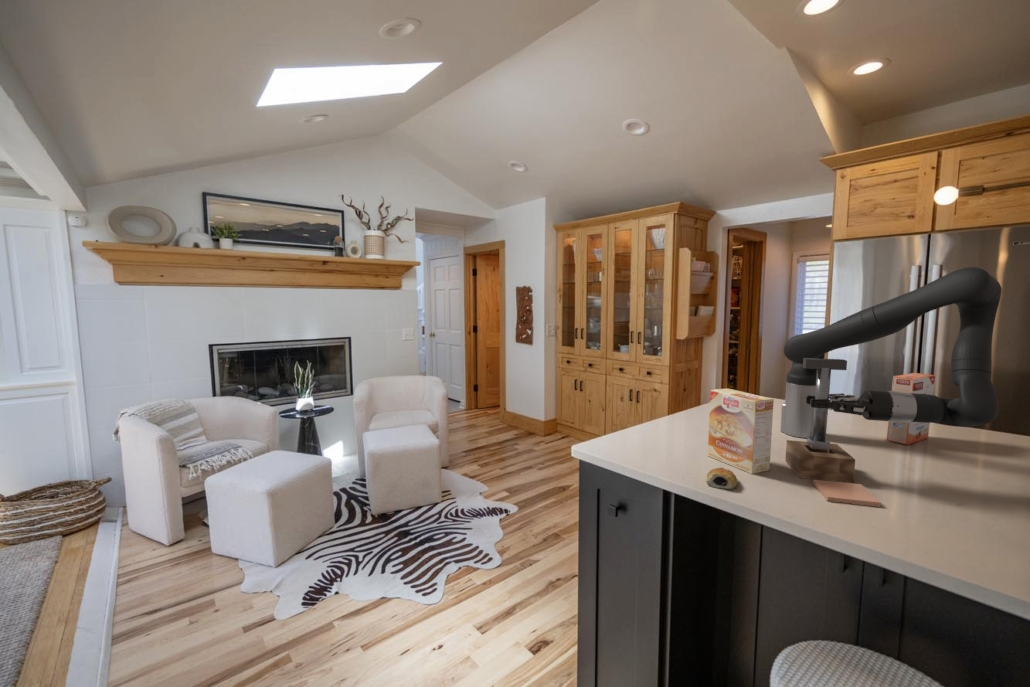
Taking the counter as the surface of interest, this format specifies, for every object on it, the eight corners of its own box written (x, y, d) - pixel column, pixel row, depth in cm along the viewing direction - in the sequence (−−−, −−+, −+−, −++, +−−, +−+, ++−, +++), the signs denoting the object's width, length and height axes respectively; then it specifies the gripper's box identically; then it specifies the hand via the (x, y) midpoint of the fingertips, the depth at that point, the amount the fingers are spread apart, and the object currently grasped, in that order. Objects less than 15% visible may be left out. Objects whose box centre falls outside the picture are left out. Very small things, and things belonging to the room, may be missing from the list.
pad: (827, 501, 103) (827, 496, 103) (813, 483, 112) (813, 479, 112) (880, 507, 100) (880, 502, 100) (860, 488, 109) (861, 484, 109)
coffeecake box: (706, 456, 132) (709, 389, 129) (724, 452, 134) (727, 387, 132) (751, 474, 118) (755, 400, 116) (770, 470, 121) (775, 398, 119)
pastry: (710, 473, 119) (710, 459, 119) (738, 479, 116) (739, 464, 115) (705, 487, 111) (706, 471, 111) (735, 493, 108) (736, 477, 107)
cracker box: (908, 446, 139) (915, 378, 137) (885, 440, 144) (891, 375, 142) (930, 439, 146) (936, 374, 143) (906, 434, 151) (912, 371, 149)
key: (800, 447, 119) (807, 359, 116) (796, 442, 123) (802, 357, 120) (841, 451, 116) (848, 361, 113) (835, 446, 120) (842, 358, 117)
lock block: (798, 477, 116) (799, 454, 115) (785, 460, 127) (786, 440, 127) (853, 483, 112) (855, 459, 112) (835, 465, 124) (836, 444, 123)
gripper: (876, 385, 120) (801, 382, 125) (903, 397, 107) (818, 393, 112) (873, 413, 121) (799, 408, 126) (900, 428, 108) (816, 422, 113)
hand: (808, 401), depth 119 cm, fingers closed on key, 3 cm apart
